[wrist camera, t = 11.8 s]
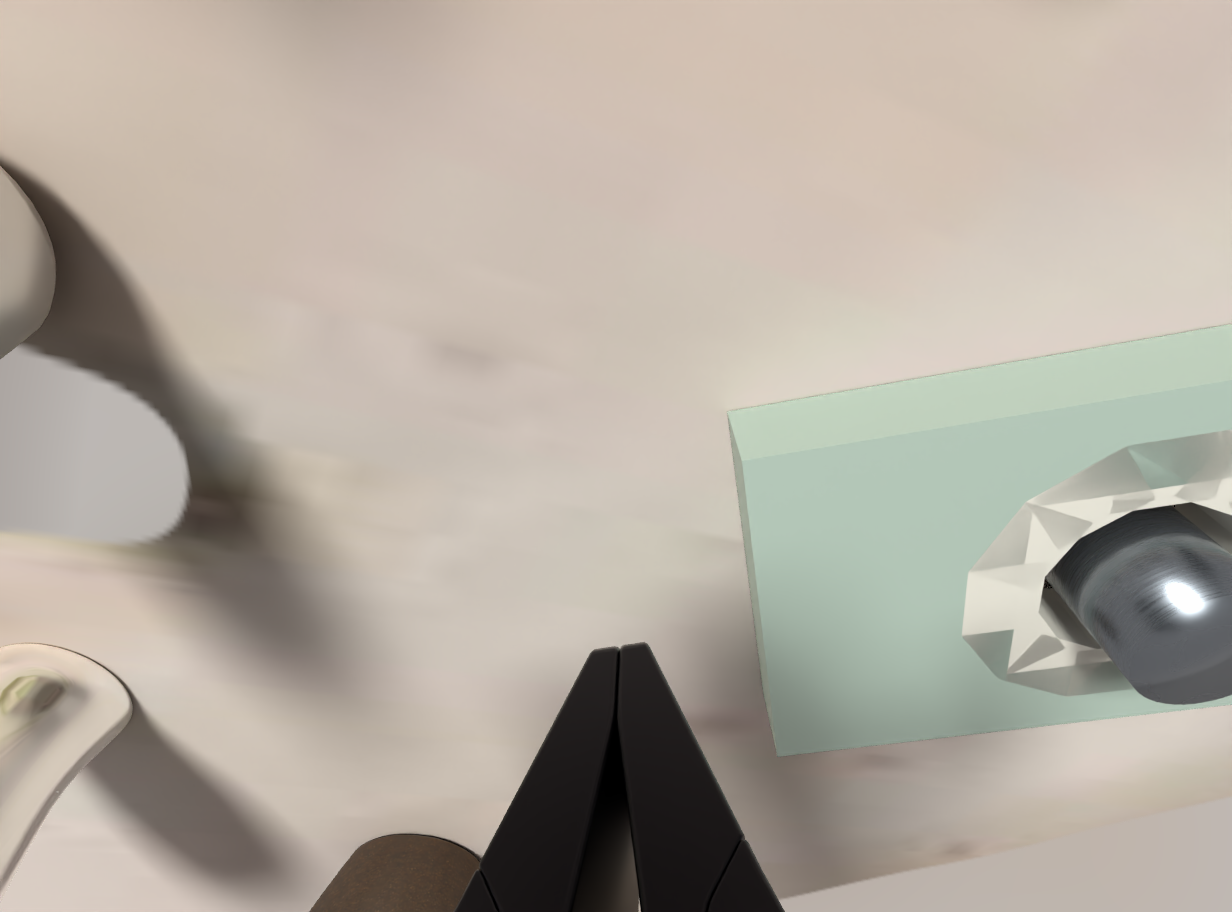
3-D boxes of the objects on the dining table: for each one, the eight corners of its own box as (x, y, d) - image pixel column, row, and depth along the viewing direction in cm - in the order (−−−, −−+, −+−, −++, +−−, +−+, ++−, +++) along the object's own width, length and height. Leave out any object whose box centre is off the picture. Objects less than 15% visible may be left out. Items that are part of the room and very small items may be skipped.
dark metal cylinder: (1164, 461, 22) (1329, 584, 17) (1137, 560, 24) (1275, 694, 19) (1028, 482, 23) (1147, 608, 17) (1013, 577, 25) (1115, 713, 20)
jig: (1340, 305, 19) (1451, 343, 17) (1212, 636, 26) (1275, 699, 24) (727, 411, 21) (741, 460, 19) (763, 693, 28) (777, 756, 26)
